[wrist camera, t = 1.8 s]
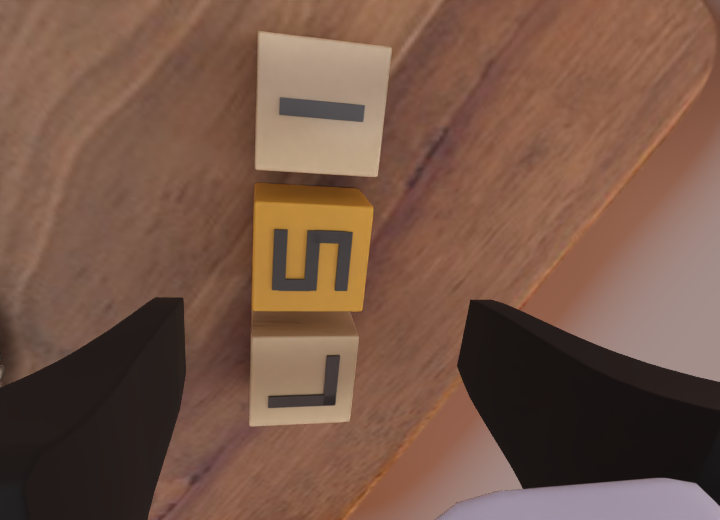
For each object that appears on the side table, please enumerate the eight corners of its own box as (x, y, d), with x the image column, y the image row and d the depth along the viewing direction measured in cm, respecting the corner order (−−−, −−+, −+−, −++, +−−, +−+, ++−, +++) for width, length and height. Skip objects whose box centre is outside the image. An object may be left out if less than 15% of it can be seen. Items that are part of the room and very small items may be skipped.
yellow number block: (349, 281, 20) (363, 313, 18) (252, 280, 20) (251, 313, 17) (359, 187, 19) (375, 208, 16) (254, 182, 18) (253, 202, 15)
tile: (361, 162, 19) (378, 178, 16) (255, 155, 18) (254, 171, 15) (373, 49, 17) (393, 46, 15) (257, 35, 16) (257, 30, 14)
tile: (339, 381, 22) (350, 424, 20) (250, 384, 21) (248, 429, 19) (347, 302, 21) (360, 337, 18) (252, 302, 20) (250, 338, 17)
